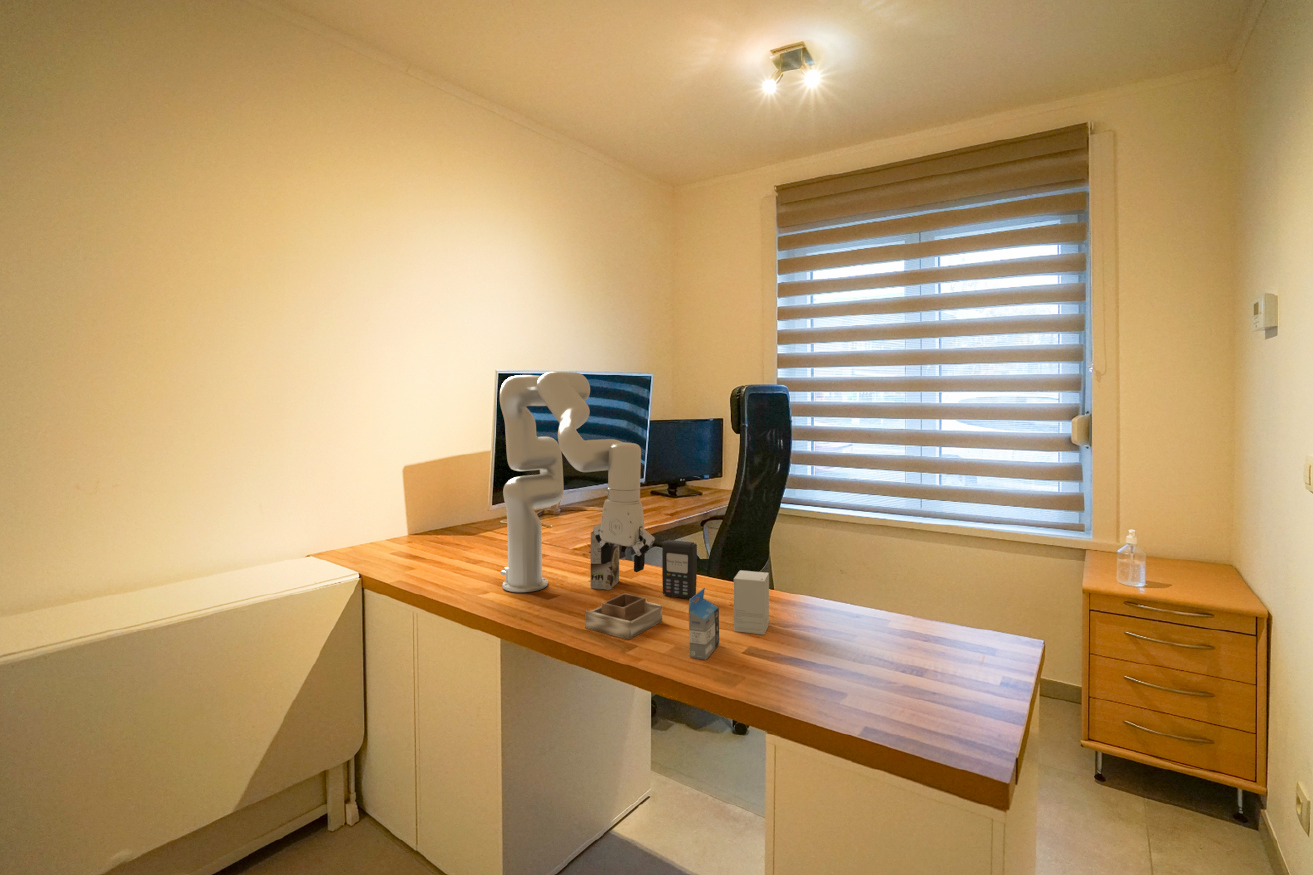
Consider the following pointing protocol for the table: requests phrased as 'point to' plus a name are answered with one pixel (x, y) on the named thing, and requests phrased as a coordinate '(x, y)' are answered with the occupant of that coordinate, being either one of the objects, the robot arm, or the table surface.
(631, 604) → the small crate
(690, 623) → the label tape box
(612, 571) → the coffee box
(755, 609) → the supplement box
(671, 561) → the card reader
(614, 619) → the tray
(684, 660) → the table surface
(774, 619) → the table surface
